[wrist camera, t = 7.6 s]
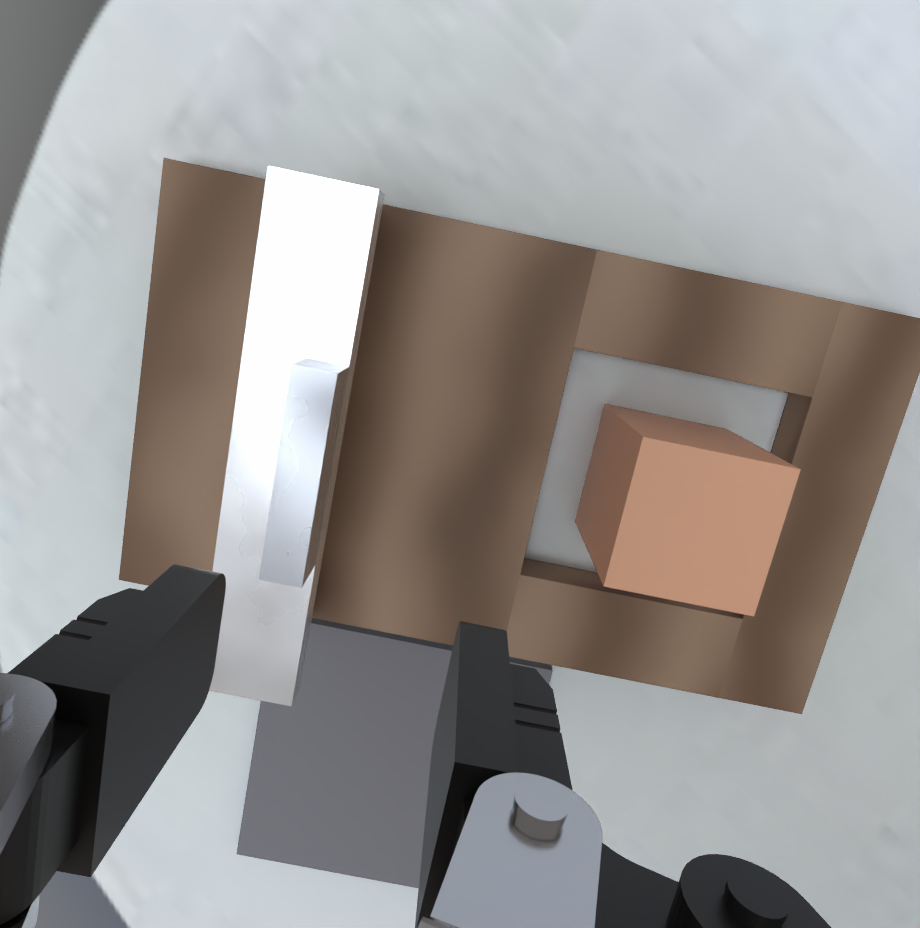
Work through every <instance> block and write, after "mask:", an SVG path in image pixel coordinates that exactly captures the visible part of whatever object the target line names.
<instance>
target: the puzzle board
mask: <svg viewBox="0 0 920 928" xmlns="http://www.w3.org/2000/svg"><path fill="white" fill-rule="evenodd" d="M265 182H266V179H261V178H256V177H252V176H247V175H242V174H237V173H233V172H228V171H223V170H219V169H214V168H209V167H204V166H200V165H195V164H190V163H186V162H181V161H176V160H171V159H167V158H164V160H163V170H162V179H161V189H160V198H159V207H158V217H157V226H156V236H155V245H154V255H153V264H152V273H151V283H150V292H149V302H148V311H147V321H146V330H145V339H144V349H143V358H142V368H141V377H140V386H139V396H138V405H137V415H136V424H135V434H134V443H133V452H132V462H131V471H130V481H129V490H128V500H127V509H126V518H125V528H124V537H123V547H122V556H121V566H120V575H119V580H123V581H128V582H133V583H138V584H143V585H148V586H150V585H151V584H152V583H153V582H154V581H155V580H156V579H157V578H158V577H160V576H161V575H162V574H163V573H164V572H165V571H166V570H167V569H168V568H170V567H171V566H172V565H174V564H177V565H182V566H187V567H192V568H197V569H202V570H207V571H213V563H214V556H215V549H216V541H217V534H218V527H219V519H220V512H221V505H222V497H223V490H224V483H225V475H226V468H227V461H228V453H229V446H230V439H231V431H232V424H233V417H234V409H235V402H236V395H237V387H238V380H239V373H240V365H241V358H242V351H243V343H244V336H245V329H246V321H247V314H248V307H249V299H250V292H251V285H252V277H253V270H254V263H255V255H256V248H257V240H258V233H259V226H260V218H261V211H262V204H263V196H264V189H265ZM574 348H578V349H583V350H588V351H592V352H597V353H602V354H607V355H612V356H616V357H621V358H626V359H631V360H636V361H640V362H645V363H650V364H655V365H660V366H664V367H669V368H674V369H679V370H684V371H688V372H693V373H698V374H703V375H708V376H712V377H717V378H722V379H727V380H732V381H736V382H741V383H746V384H751V385H755V386H760V387H765V388H770V389H775V390H779V391H784V392H789V396H788V399H787V402H786V405H785V409H784V412H783V415H782V418H781V422H780V425H779V428H778V431H777V435H776V438H775V441H774V444H773V448H772V451H771V453H772V454H773V455H775V456H777V457H779V458H781V459H783V460H785V461H786V462H788V463H790V464H792V465H794V466H796V467H797V468H799V469H801V470H800V473H799V477H798V480H797V483H796V486H795V489H794V492H793V496H792V499H791V502H790V505H789V508H788V511H787V514H786V518H785V521H784V524H783V527H782V530H781V533H780V536H779V540H778V543H777V546H776V549H775V552H774V555H773V558H772V562H771V565H770V568H769V571H768V574H767V577H766V581H765V584H764V587H763V590H762V593H761V596H760V599H759V603H758V606H757V609H756V612H755V615H754V616H749V615H744V614H739V613H734V612H729V611H724V610H719V609H714V608H709V607H704V606H699V605H694V604H689V603H684V602H679V601H674V600H669V599H664V598H659V597H654V596H649V595H644V594H639V593H634V592H629V591H624V590H619V589H614V588H609V587H604V586H603V584H602V582H601V579H600V577H599V575H598V573H594V572H589V571H584V570H579V569H574V568H569V567H564V566H559V565H554V564H549V563H544V562H539V561H534V560H529V559H524V556H525V552H526V548H527V544H528V539H529V535H530V531H531V527H532V523H533V518H534V514H535V510H536V506H537V502H538V497H539V493H540V489H541V485H542V480H543V476H544V472H545V468H546V464H547V459H548V455H549V451H550V447H551V442H552V438H553V434H554V430H555V426H556V421H557V417H558V413H559V409H560V405H561V400H562V396H563V392H564V388H565V383H566V379H567V375H568V371H569V367H570V362H571V358H572V354H573V350H574ZM919 372H920V318H915V317H911V316H906V315H901V314H897V313H892V312H887V311H882V310H878V309H873V308H868V307H864V306H859V305H854V304H849V303H845V302H840V301H835V300H831V299H826V298H821V297H816V296H812V295H807V294H802V293H798V292H793V291H788V290H784V289H779V288H774V287H769V286H765V285H760V284H755V283H751V282H746V281H741V280H736V279H732V278H727V277H722V276H718V275H713V274H708V273H704V272H699V271H694V270H689V269H685V268H680V267H675V266H671V265H666V264H661V263H656V262H652V261H647V260H642V259H638V258H633V257H628V256H623V255H619V254H614V253H609V252H605V251H600V250H595V249H591V248H586V247H581V246H576V245H572V244H567V243H562V242H558V241H553V240H548V239H543V238H539V237H534V236H529V235H525V234H520V233H515V232H510V231H506V230H501V229H496V228H492V227H487V226H482V225H478V224H473V223H468V222H463V221H459V220H454V219H449V218H445V217H440V216H435V215H430V214H426V213H421V212H416V211H412V210H407V209H402V208H397V207H393V206H388V205H383V206H382V212H381V218H380V224H379V230H378V236H377V241H376V247H375V253H374V259H373V265H372V271H371V276H370V282H369V288H368V294H367V300H366V306H365V311H364V317H363V323H362V329H361V335H360V341H359V346H358V352H357V358H356V364H355V370H354V376H353V381H352V387H351V393H350V399H349V405H348V411H347V416H346V422H345V428H344V434H343V440H342V446H341V451H340V457H339V463H338V469H337V475H336V481H335V486H334V492H333V498H332V504H331V510H330V516H329V521H328V527H327V533H326V539H325V545H324V551H323V556H322V562H321V568H320V574H319V580H318V586H317V591H316V597H315V603H314V609H313V615H312V618H316V619H321V620H326V621H331V622H336V623H341V624H347V625H352V626H357V627H362V628H367V629H372V630H377V631H382V632H387V633H392V634H397V635H402V636H408V637H413V638H418V639H423V640H428V641H433V642H438V643H443V644H448V645H453V644H454V640H455V636H456V631H457V628H458V624H459V622H460V621H463V622H468V623H473V624H478V625H483V626H488V627H493V628H498V629H503V630H506V631H507V639H508V649H509V657H514V658H519V659H525V660H530V661H535V662H540V663H545V664H550V665H555V666H560V667H565V668H570V669H575V670H580V671H586V672H591V673H596V674H601V675H606V676H611V677H616V678H621V679H626V680H631V681H636V682H641V683H647V684H652V685H657V686H662V687H667V688H672V689H677V690H682V691H687V692H692V693H697V694H703V695H708V696H713V697H718V698H723V699H728V700H733V701H738V702H743V703H748V704H753V705H758V706H764V707H769V708H774V709H779V710H784V711H789V712H794V713H799V714H802V712H803V709H804V706H805V703H806V700H807V697H808V694H809V691H810V688H811V685H812V683H813V680H814V677H815V674H816V671H817V668H818V665H819V662H820V659H821V656H822V654H823V651H824V648H825V645H826V642H827V639H828V636H829V633H830V630H831V627H832V625H833V622H834V619H835V616H836V613H837V610H838V607H839V604H840V601H841V598H842V595H843V593H844V590H845V587H846V584H847V581H848V578H849V575H850V572H851V569H852V566H853V564H854V561H855V558H856V555H857V552H858V549H859V546H860V543H861V540H862V537H863V535H864V532H865V529H866V526H867V523H868V520H869V517H870V514H871V511H872V508H873V506H874V503H875V500H876V497H877V494H878V491H879V488H880V485H881V482H882V479H883V477H884V474H885V471H886V468H887V465H888V462H889V459H890V456H891V453H892V450H893V448H894V445H895V442H896V439H897V436H898V433H899V430H900V427H901V424H902V421H903V419H904V416H905V413H906V410H907V407H908V404H909V401H910V398H911V395H912V392H913V390H914V387H915V384H916V381H917V378H918V375H919Z"/></svg>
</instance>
